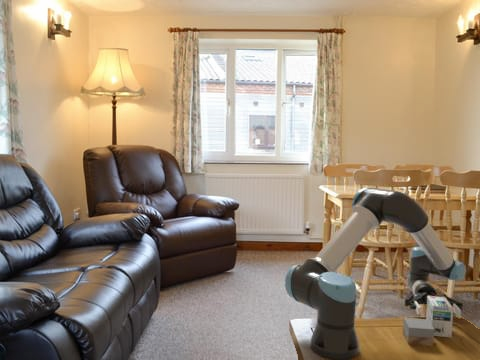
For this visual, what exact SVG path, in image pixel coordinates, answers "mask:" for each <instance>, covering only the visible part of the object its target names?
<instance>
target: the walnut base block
mask: <svg viewBox="0 0 480 360" xmlns="http://www.w3.org/2000/svg"><path fill="white" fill-rule="evenodd" d="M401 333H402V336H403V338H404V339H405V341H406V343H407V345H411V346H413V345H415V346H426V347H434V345H435V344H434V341H435V337H434V338H425V337H413V336H408V334H407V332H406V330H405V328H404V326H402V332H401Z"/></svg>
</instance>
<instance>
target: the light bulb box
mask: <svg viewBox="0 0 480 360" xmlns="http://www.w3.org/2000/svg"><path fill="white" fill-rule="evenodd" d="M425 313H426V314H425V315H426V316H425V319H428V320H429V322H430V323H431V325H432V326H433V328H434V329H435V331H434V337H442V338H452V336H453V335H452V334H453V322H454V321H453V317H454V312H453V307H452V306H451V304H450V303H449V302H448V300H447V298H446V297H443V296H441V297H435V296H427V304H426V312H425Z"/></svg>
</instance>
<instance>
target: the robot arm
mask: <svg viewBox="0 0 480 360" xmlns="http://www.w3.org/2000/svg"><path fill="white" fill-rule="evenodd" d="M352 200H353V201H351V209H350V210H351V214H350V215H349V217H348V218H347V219H346V220H345V222H344V223H343V224H342V225H341V226H340V228H339V229H338V230H337V231H336V232H335V233H334V234H333V236H332V237H331V238H330V239H329V240H328V241H327V243H326V244H325V245H324V246H323V247H322V249H321V250H320V251H319V252H318V253H317V254H316V255H315V257H309V258H307V259H306V260H305V261H304V262H303V264H295V265H292V266H291V267H290V268H289V269H288V271H287V273H286V274H285V279H284V281H285V283H284V287H285V291H286V293H287V295H288V296H289V297H290V298H292V299H293V300H295V301H296V302H298V303H301V304H303V305H306V306H308V307H310V308H311V309H314V310H316V312H317V315H316V318H317V319H316V325H315V328H314V330H313V332H312V336H311V338H310V349H311V350H312V351H313V352H314V353H315V354H317V355H318V356H320V357H323V358H326V359H330V360H349V359H353V358H356V357H357V356H358V355H359V352H360V342H359V340H358V335H357V332H356V329H355V320H356V319H355V318H356V317H355V316H356V305H357V288H356V287H357V286H356V283H355V281H354V280H353V278H351V277H350V276H348V275H345V274H343V273H340V272H339V273H338V272H337V271H338V270H339V269H340V267H341V266H342V265H343V264H344V262H346V260H347V258H348V257H349V256H350V255H351V254H352V253H353V251H354V250H355V249H356V248H357V247H358V246H359V244H360V243H361V242H362V241H363V239H364V238H365V237H366V236H367V234H368V233H369V232H370V230H376V229H378V228H379V226H380V225H381V224H382V223H383V222H386V223H390V224H391V223H392V224H395V225H397V226H399V227H401V228H402V229H403V231H405V232H406V233H408V234H410V235H411V236H412V238H413V240H414V241H415V242H416V243H417V245H418V246H414V247H412V248H411V253H410V261H409V262H410V266H409V274H408V276H407V278H406V282H407V285H408V288H409V289H410V290H411V292H409V294H408V296H406V297H405V299H404V307H409V309H410V310H414V311H415V313H416V314H417V316H420V315H421V306H420V305H427V296H435V297H446V298H447V300H448V302H449V303H450V304H451V306H452V307H453V314H455V315H456V318H458V319H461V318H462V311H463V304H464V303H462V302H460V301H458V300H455V299H454V298H451V297H449V296H448V295H446V294H442V295H441V296H440V295H439V294H437V292H436V289H435V288H434V287H433V286H432V285H431V283H430V282H429V280H430V279H429V278H430V277H429V276H430V274H431V275H433V276H438V277H440V278H443V279H447V280H450V281H455V282H462V281H463V279H464V278H465V276H466V273H467V268H466V265H465V263H463V262H460V261H459V260H458V261H457V260H455V259H454V258H453V256H452V254H451V253H450V252H449V250H448V249H447V247H446V246H445V243H443V241H442V240H441V239H440V237H439V235H438V234H437V233H436V231H435V230H434V228H433V226H432V225H431V224H430V222H429V216H428V214H427V213H426V211H425V210H424V208H423V207H422V206H421V205H420V204H419V203H418V202H417V201H416V200H415V199H414V198H412V197H411V196H409V195H407V193H404V192H401V191H397V190H392V189H391V190H390V189H382V188H376V187H364V188H361V189H359V190H358V191H357V192H356V193H355V194H354V196H353V198H352Z"/></svg>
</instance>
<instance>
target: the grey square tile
mask: <svg viewBox="0 0 480 360" xmlns="http://www.w3.org/2000/svg"><path fill="white" fill-rule="evenodd" d="M403 326H404V328H405V330H406V332H407V334H408V336H413V337H425V338H434V339H435V336H434V331H435V329H434V328H433V326H432V325H431V323H430V322H429V320H428V319H426V318H414V317H413V318H411V317H403ZM403 326H402V327H403Z"/></svg>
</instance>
